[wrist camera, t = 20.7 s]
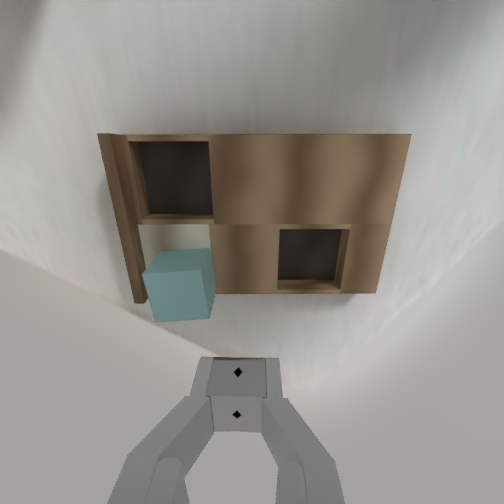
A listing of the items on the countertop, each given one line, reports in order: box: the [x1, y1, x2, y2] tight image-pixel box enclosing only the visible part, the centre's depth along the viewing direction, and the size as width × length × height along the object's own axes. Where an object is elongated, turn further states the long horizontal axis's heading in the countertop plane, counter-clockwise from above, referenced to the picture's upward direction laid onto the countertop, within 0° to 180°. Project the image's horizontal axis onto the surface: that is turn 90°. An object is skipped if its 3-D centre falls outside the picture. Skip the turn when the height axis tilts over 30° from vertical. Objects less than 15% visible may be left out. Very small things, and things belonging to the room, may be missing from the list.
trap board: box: [97, 134, 412, 303], centre depth 25 cm, size 26×16×4 cm, turn 90°
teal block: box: [142, 248, 216, 322], centre depth 24 cm, size 5×5×5 cm
